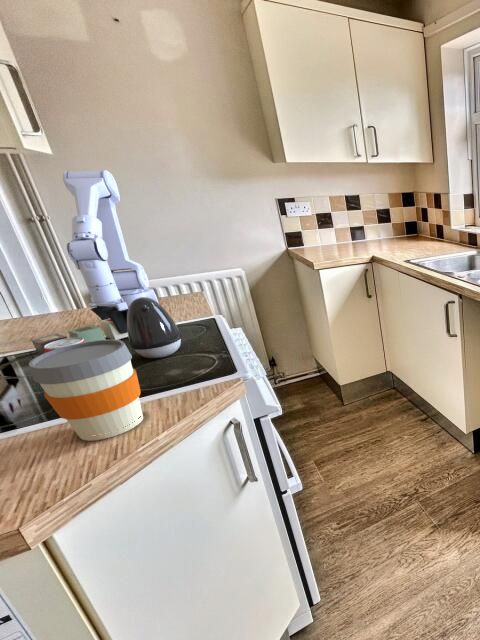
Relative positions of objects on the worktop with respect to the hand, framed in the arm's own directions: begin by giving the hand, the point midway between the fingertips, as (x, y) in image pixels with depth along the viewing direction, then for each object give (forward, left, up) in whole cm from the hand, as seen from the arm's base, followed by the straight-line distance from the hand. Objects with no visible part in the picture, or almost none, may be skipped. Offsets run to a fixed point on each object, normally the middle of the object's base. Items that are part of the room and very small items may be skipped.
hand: (120, 331), depth 119 cm
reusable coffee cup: (+8, +58, -2) cm, 58 cm away
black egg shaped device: (-5, +24, -2) cm, 24 cm away
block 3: (0, 0, -1) cm, 1 cm away
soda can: (+10, +38, -2) cm, 39 cm away
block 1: (+13, +4, -2) cm, 14 cm away
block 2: (+7, +2, -2) cm, 7 cm away
